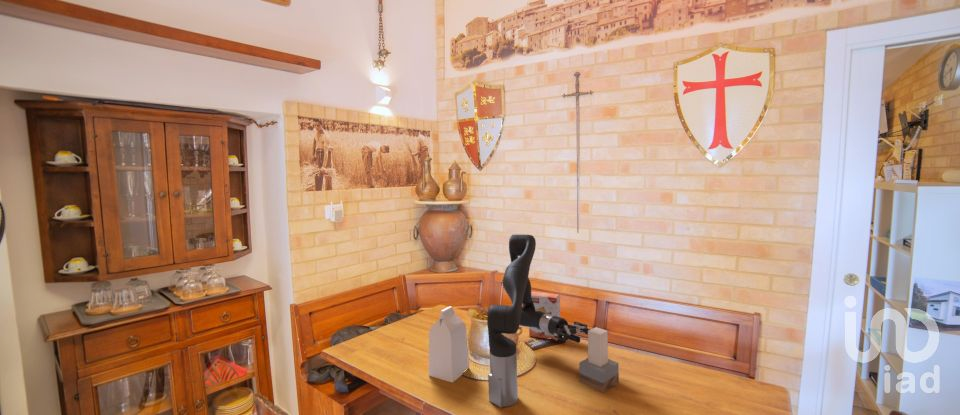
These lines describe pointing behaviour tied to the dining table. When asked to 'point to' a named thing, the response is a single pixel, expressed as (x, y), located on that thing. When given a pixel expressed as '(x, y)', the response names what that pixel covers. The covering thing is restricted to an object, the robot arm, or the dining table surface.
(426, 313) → the dining table surface
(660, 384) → the dining table surface
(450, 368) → the milk
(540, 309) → the cracker box
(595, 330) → the cream block
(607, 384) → the tower base
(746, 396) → the dining table surface
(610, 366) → the tower top
